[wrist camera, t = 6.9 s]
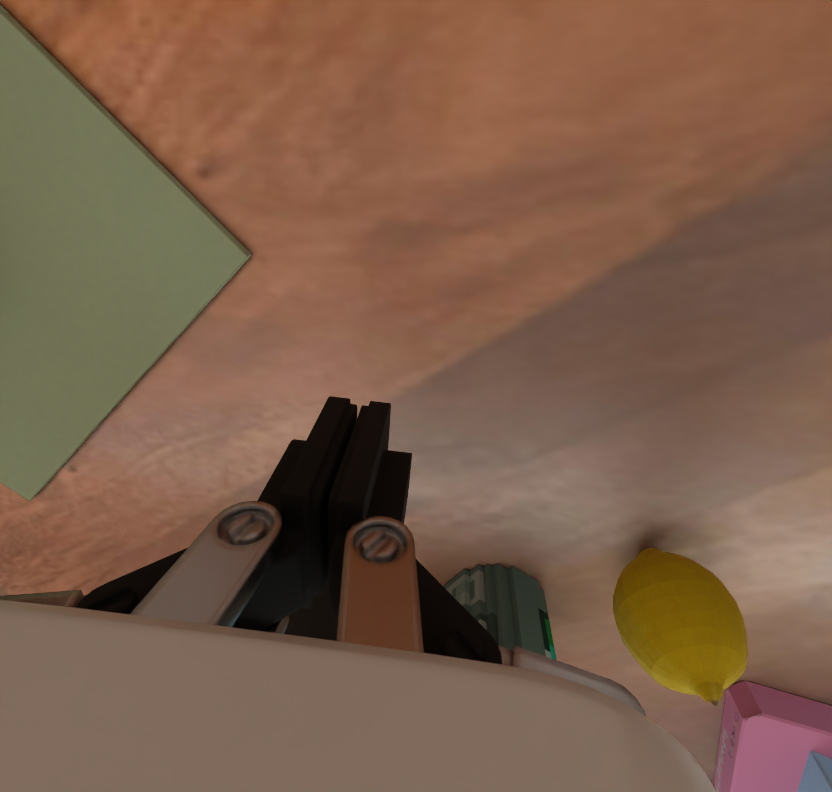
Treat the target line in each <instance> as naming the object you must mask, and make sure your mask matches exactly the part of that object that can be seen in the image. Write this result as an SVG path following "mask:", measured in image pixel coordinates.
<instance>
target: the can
mask: <svg viewBox="0 0 832 792" xmlns="http://www.w3.org/2000/svg"><path fill="white" fill-rule="evenodd" d="M444 588H445V589H446V590H447V591H448V592H449V593H450V594H451V595H452V596H453V597H454V598H455V599H456V600H457V601H458V602H459V603H460V604H461V605H462V606H463V607H464V608H465V609H466V610H467V611H468V612H469V613H470V614H471V615H472V616H473V617H474V618H475V619H476V620H477V621H478V622H479V623H480V624H481V625H482V626H483V627H484V628H485V629H486V630H487V631H488V632H489V633H490V634H491V636H492V637H493V638H494V640H495V641H496V642H497V644H498V645H499V646H501V647H504V648H507V649H510V650H514V647H515V646H518V647H521V648H523V649H526V650H529V651H532V652H535V653H537V654H540V655H543V656H546V657H549V658H551V659H554V660H556V655H555V650H554V644H553V639H552V634H551V628H550V623H549V617H548V612H547V607H546V601H545V596H544V591H543V590H542V589H540V588H539V584H538V581H537V580H535V579H534V578H532V577H530V576H529V575H527V574H525V573H524V572H522V571H520V570H518V569H517V568H515V567H513V566H512V567H510V568H509V569H506V568H505V567H503V566H501V565H499V564H498V563H497V564H496V565H495V566H493V567H492V566H491V565H489V564H487V565H486V566H484V567H482V566H480V565H477V566H476V567H474V568H473V569H472V570H471V571H468V570H466V569H465V568H464V569H463V570H462V571H461V572H460V573H458V574H457V575H456V576H455V577H454V578H453V579H451V580H450V581H449V582H448V583H447V584H446V585H444Z"/></svg>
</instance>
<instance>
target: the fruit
mask: <svg viewBox="0 0 832 792" xmlns="http://www.w3.org/2000/svg"><path fill="white" fill-rule="evenodd" d="M613 609H614V615H615V620H616V624H617V627H618V630H619V633H620V635H621V637H622V640H623V642H624V644H625V645H626V647H627V648H628V650H629V651H630V653H631V654H632V656H633V657H634V658H635V659H636V661H637V662H638V663H639V664H640V665H641V667H642V668H643V669H644V670H645V671H646V672H647V673H648V674H649V675H650V676H651V677H652V678H653V679H654V680H655V681H656V682H657V683H659V684H660V685H662V686H664V687H666V688H668V689H672V690H675V691H678V692H682V693H685V694H691V695H699V696H700V697H701V698H702V699H704V700H705V701H706V702H709V703H712V704H713V705H715V706H716V705H717V704H718V701H720V700H721V699H722V694H723V690H724V689H726V688H728V687H729V686H731V685H732V684H733V683H734V682H735V681H736V680H737V679H738V678H739V677H740V676H741V675H742V674H743V672H744V670H745V668H746V663H747V656H748V650H747V637H746V629H745V625H744V621H743V617H742V615H741V612H740V610H739V608H738V605H737V603H736V601H735V600H734V598H733V597H732V595H731V594H730V593H729V591H728V590H727V589H726V587H725V586H724V585H723V583H722V582H721V581H720V580H719V579H718V578H717V577H716V576H715V575H714V574H713V573H711V572H710V571H709V570H707V569H706V568H704V567H703V566H701V565H699V564H697V563H696V562H694V561H692V560H690V559H688V558H686V557H684V556H680V555H676V554H672V553H668V552H662V551H660V550H659V549H653V548H648V549H645V550H643V551H641V552H640V553H639V554H638V555H637V557H636V559H635V560H633V561H632V562H631V563H629V564H628V565H627V566H626V567H625V569H624V570H623V571H622V573H621V574H620V576H619V578H618V581H617V584H616V588H615V592H614V596H613Z"/></svg>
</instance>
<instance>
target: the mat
mask: <svg viewBox="0 0 832 792" xmlns="http://www.w3.org/2000/svg"><path fill="white" fill-rule="evenodd" d="M251 255H252V254H251V253H250V252H249V251H248V250H247V249H246V248H245V247H244V246H243V245H242V244H241V243H240V242H239V241H238V240H237V239H236V238H235V237H234V236H233V235H232V234H231V233H230V232H229V231H228V230H227V229H226V228H225V227H224V226H223V225H222V224H221V223H220V222H219V221H218V220H217V219H216V218H215V217H214V216H213V215H212V214H211V213H210V212H209V211H208V210H207V209H206V208H205V207H204V206H203V205H202V204H201V203H200V202H199V201H198V200H197V199H196V198H195V197H194V196H193V195H192V194H191V193H190V192H188V191H187V190H186V189H185V188H184V187H183V186H182V185H181V184H180V183H179V182H178V181H177V180H176V179H175V178H174V177H173V176H172V175H171V174H170V173H169V172H168V171H167V170H166V169H165V168H164V167H163V166H162V165H161V164H160V163H159V162H158V161H157V160H156V159H155V158H154V157H153V156H152V155H151V154H150V153H149V152H148V151H147V150H146V149H145V148H144V147H143V146H142V145H141V144H140V143H139V142H138V141H137V140H136V139H135V138H134V137H133V136H132V135H131V134H130V133H129V132H128V131H127V130H126V129H125V128H124V127H123V126H122V125H121V124H120V123H119V122H118V121H117V120H116V119H115V118H114V117H113V116H112V115H111V114H110V113H109V112H108V111H107V110H106V109H105V108H104V107H103V106H102V105H101V104H100V103H99V102H98V101H97V100H96V99H95V98H94V97H93V96H92V95H91V94H90V93H89V92H88V91H87V90H86V89H85V88H84V87H83V86H82V85H81V84H80V83H79V82H78V81H77V80H76V79H75V78H74V77H73V76H72V75H71V74H70V73H69V72H68V71H67V70H66V69H65V68H64V67H63V66H62V65H61V64H60V63H59V62H58V61H57V60H56V59H55V58H54V57H53V56H52V55H51V54H50V53H49V52H48V51H47V50H46V49H45V48H44V47H43V46H42V45H41V44H40V43H39V42H38V41H37V40H36V39H35V38H34V37H33V36H32V35H31V34H29V33H28V32H27V31H26V30H25V29H24V28H23V27H22V26H21V25H20V24H19V23H18V22H17V21H16V20H15V19H14V18H13V17H12V16H11V15H10V14H9V13H8V12H7V11H6V10H5V9H4V8H3V7H2V6H1V5H0V483H2V484H4V485H5V486H7V487H8V488H10V489H11V490H13V491H14V492H16V493H17V494H19V495H20V496H22V497H23V498H25V499H26V500H28V501H31V500H32V499H33V498H34V497H35V496H36V495H37V494H38V493H39V492H40V491H41V490H42V489H43V487H44V486H45V485H46V484H47V483H48V482H49V481H50V480H51V479H52V477H53V476H54V475H55V474H56V473H57V472H58V471H59V470H60V468H61V467H62V466H63V465H64V464H65V463H66V462H67V461H68V460H69V458H70V457H71V456H72V455H73V454H74V453H75V452H76V451H77V450H78V448H79V447H80V446H81V445H82V444H83V443H84V442H85V441H86V439H87V438H88V437H89V436H90V435H91V434H92V433H93V432H94V431H95V429H96V428H97V427H98V426H99V425H100V424H101V423H102V422H103V421H104V419H105V418H106V417H107V416H108V415H109V414H110V413H111V412H112V410H113V409H114V408H115V407H116V406H117V405H118V404H119V403H120V402H121V400H122V399H123V398H124V397H125V396H126V395H127V394H128V393H129V392H130V390H131V389H132V388H133V387H134V386H135V385H136V384H137V383H138V381H139V380H140V379H141V378H142V377H143V376H144V375H145V374H146V373H147V371H148V370H149V369H150V368H151V367H152V366H153V365H154V364H155V363H156V361H157V360H158V359H159V358H160V357H161V356H162V355H163V354H164V352H165V351H166V350H167V349H168V348H169V347H170V346H171V345H172V344H173V342H174V341H175V340H176V339H177V338H178V337H179V336H180V335H181V334H182V332H183V331H184V330H185V329H186V328H187V327H188V326H189V325H190V323H191V322H192V321H193V320H194V319H195V318H196V317H197V316H198V315H199V313H200V312H201V311H202V310H203V309H204V308H205V307H206V306H207V305H208V303H209V302H210V301H211V300H212V299H213V298H214V297H215V296H216V294H217V293H218V292H219V291H220V290H221V289H222V288H223V287H224V286H225V284H226V283H227V282H228V281H229V280H230V279H231V278H232V277H233V276H234V274H235V273H236V272H237V271H238V270H239V269H240V268H241V267H242V265H243V264H244V263H245V262H246V261H247V260H248V259H249V258H250V257H251Z"/></svg>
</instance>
